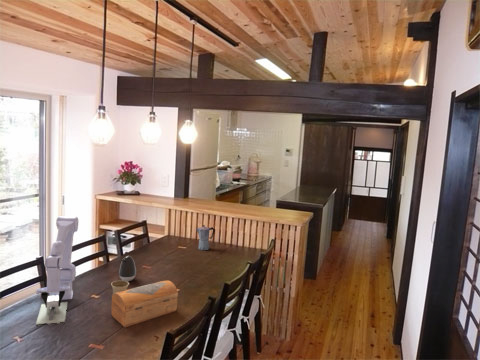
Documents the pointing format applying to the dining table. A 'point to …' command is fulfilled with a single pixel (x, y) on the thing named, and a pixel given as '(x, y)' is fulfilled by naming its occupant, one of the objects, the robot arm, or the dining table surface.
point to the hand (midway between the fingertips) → (53, 306)
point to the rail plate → (56, 316)
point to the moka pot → (204, 237)
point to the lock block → (53, 303)
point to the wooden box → (144, 302)
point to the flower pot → (119, 286)
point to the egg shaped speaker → (127, 269)
